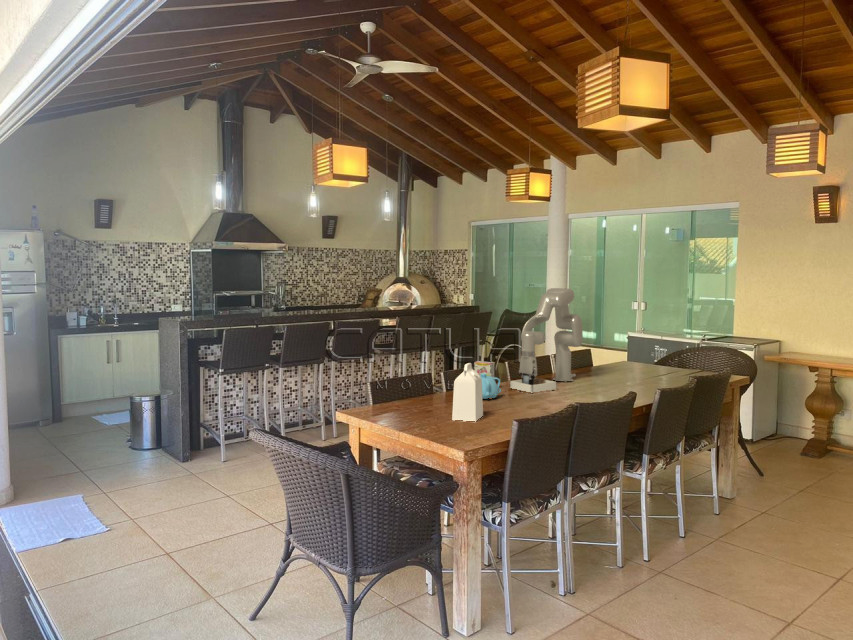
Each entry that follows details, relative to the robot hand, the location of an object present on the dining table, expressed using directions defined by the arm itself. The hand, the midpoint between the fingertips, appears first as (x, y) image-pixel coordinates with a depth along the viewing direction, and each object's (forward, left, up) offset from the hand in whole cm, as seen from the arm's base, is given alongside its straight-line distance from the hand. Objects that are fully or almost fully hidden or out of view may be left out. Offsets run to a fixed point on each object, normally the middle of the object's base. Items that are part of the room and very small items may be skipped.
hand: (527, 385), depth 373 cm
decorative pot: (+35, +1, -4) cm, 35 cm away
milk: (+72, +33, -4) cm, 79 cm away
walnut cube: (-9, 0, -2) cm, 9 cm away
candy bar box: (+19, -17, -4) cm, 25 cm away
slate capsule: (0, 0, -1) cm, 1 cm away
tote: (-4, 0, -3) cm, 6 cm away
